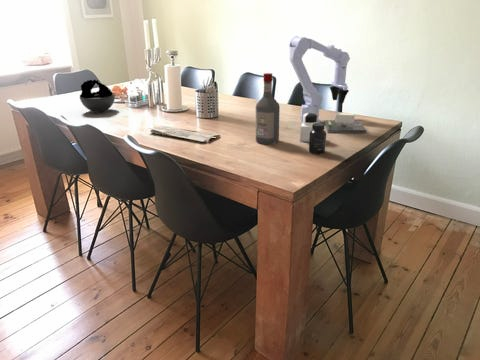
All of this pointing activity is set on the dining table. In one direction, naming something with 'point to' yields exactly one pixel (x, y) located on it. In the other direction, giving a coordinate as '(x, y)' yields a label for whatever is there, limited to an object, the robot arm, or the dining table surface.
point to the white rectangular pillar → (344, 118)
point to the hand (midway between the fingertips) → (337, 101)
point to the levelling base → (344, 127)
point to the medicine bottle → (307, 126)
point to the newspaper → (183, 133)
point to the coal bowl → (96, 96)
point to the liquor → (267, 115)
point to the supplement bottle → (317, 139)
